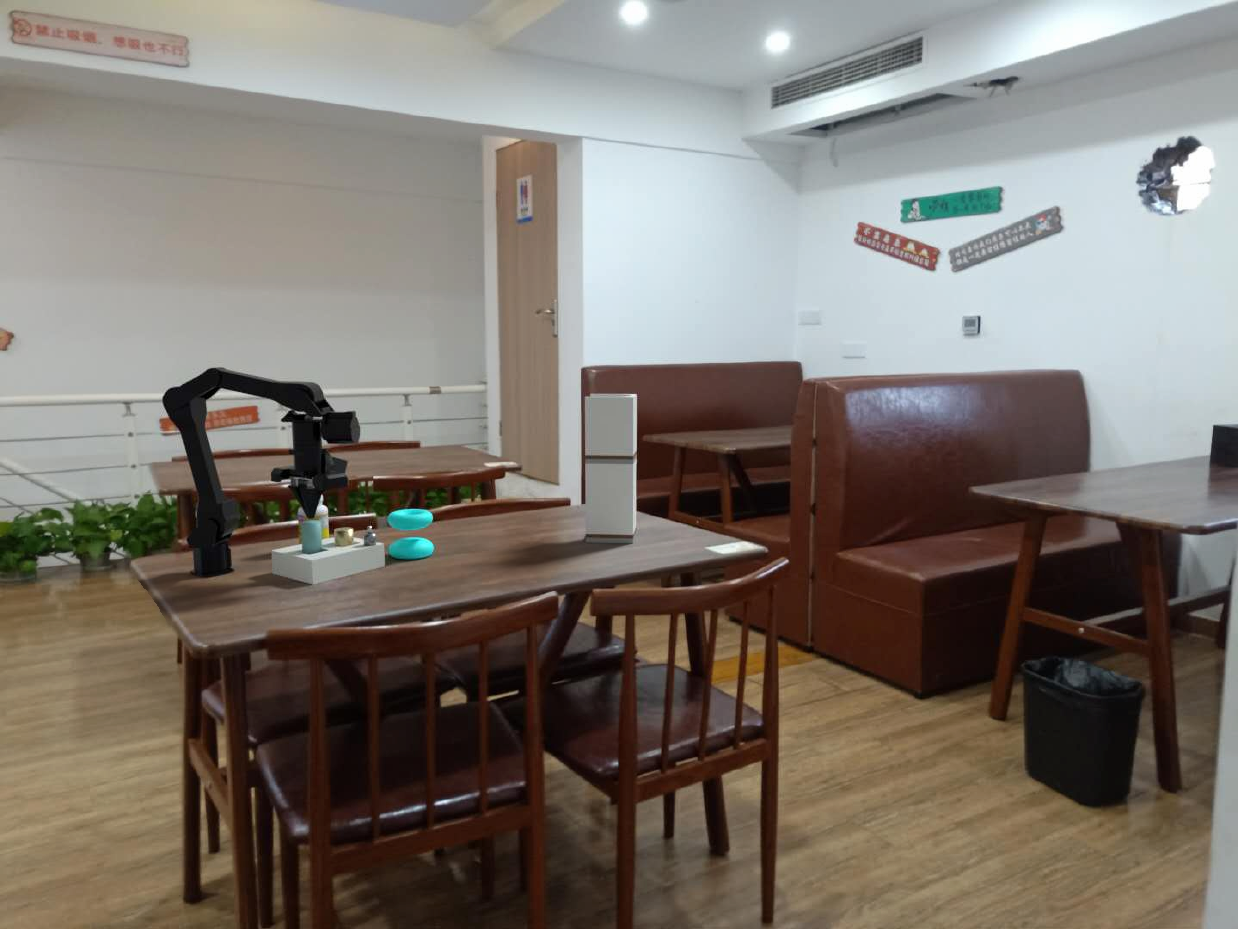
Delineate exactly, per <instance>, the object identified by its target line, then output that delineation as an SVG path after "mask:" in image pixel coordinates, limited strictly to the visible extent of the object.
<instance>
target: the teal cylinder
mask: <svg viewBox="0 0 1238 929" xmlns="http://www.w3.org/2000/svg"><path fill="white" fill-rule="evenodd" d="M301 538H302V553H304V554H308V555H310V554H314V553H319V552H322V531H321V521H317V520H311V521H304V522H301Z"/></svg>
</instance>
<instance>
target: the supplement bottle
mask: <svg viewBox="0 0 1238 929" xmlns="http://www.w3.org/2000/svg"><path fill="white" fill-rule="evenodd" d="M323 502H324V496H323V494H322V495H321V498H320V501H319V504H318V507H317V510H316V514H315V517H314V518H313V519H308V518H307V516H306V515H305V513H304V511H303V509H302V507H301V506H300V507H299V508H298V510H297V521H298V522H297V523H298V525H297V526H298V543H299V544H302V538H301V522H304V521H311V520H317V521H321V531H322V540H323V539H327V538H330V530H329V529H330V528H329V527H330V526H329V509H328V507H327V506H326V505H324V504H323ZM299 544H298V545H299Z"/></svg>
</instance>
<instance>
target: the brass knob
mask: <svg viewBox="0 0 1238 929" xmlns="http://www.w3.org/2000/svg"><path fill="white" fill-rule="evenodd" d="M354 531H355V530H354V528H353V527H349V526H348V527H347V526H345V527H339V528H335V529H333V533H334V534H333V537H334V541H335V546H338V547H345V546H350V545H354V537H355V536H354Z"/></svg>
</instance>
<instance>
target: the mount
mask: <svg viewBox="0 0 1238 929" xmlns="http://www.w3.org/2000/svg"><path fill="white" fill-rule="evenodd" d="M385 558H386V557H385V543H384V542H377V541H376V545H375V546H364V538H358V537H355V536H354V545H350V546H345V547H338V546H335V541H334V536H333V537H329V538H327V539H323V540H322V552H319V553H314V554H310V555H308V554H304V553H302V544H295V545H291V546H286V547H282V548H276V549H271V563H272V564H271V568H272V574H273V575H276V574H277V575H276V576H279V575H280V577H284V578H287V577H288V578H287V579H290V578H291V579H290V580H294V581H299V582H302V583H306V584H309V585H313V586H314V585H317V584H321V583H325V582H328V581H333V580H337V579H340V578H345V577H348V576H352V575H356V574H360V573H364V572H368V571H372V570H376V569H379V568H383V567H385V566H386V561H385V560H386V559H385Z"/></svg>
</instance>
